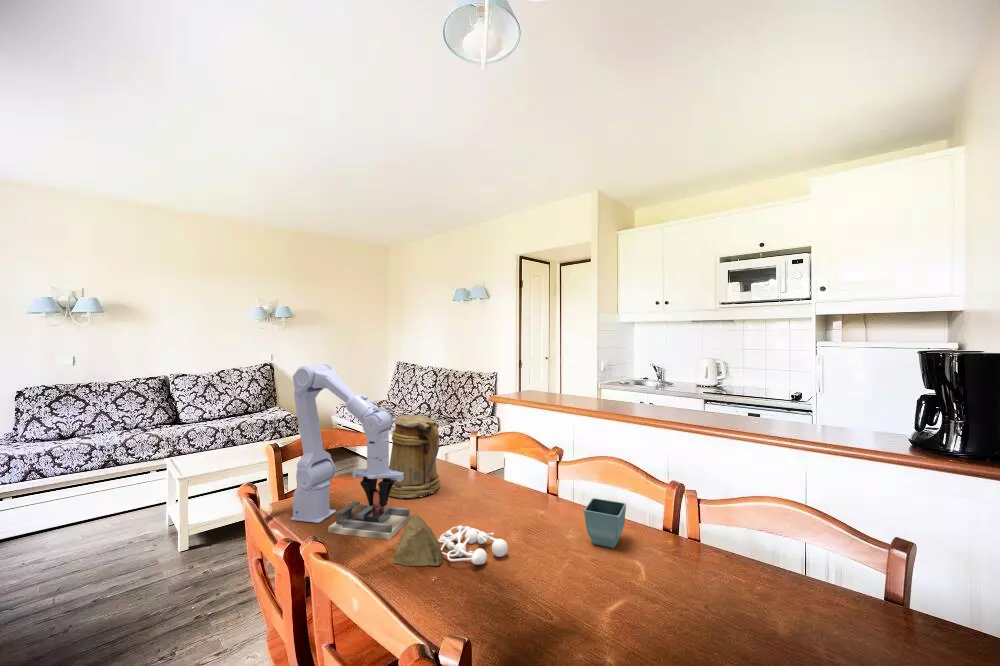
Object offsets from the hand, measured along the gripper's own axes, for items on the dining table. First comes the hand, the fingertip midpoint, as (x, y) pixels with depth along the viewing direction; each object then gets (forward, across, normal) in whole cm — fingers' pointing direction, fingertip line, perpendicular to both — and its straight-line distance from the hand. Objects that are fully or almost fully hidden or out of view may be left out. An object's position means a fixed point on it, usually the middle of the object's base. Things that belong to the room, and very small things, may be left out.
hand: (378, 505), depth 111 cm
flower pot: (+6, +61, +5) cm, 61 cm away
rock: (+6, +19, -14) cm, 24 cm away
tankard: (+6, -1, +27) cm, 28 cm away
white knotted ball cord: (+6, +28, -6) cm, 30 cm away
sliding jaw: (+4, -1, 0) cm, 4 cm away
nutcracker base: (+6, -2, 0) cm, 6 cm away
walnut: (+2, -6, 0) cm, 6 cm away
